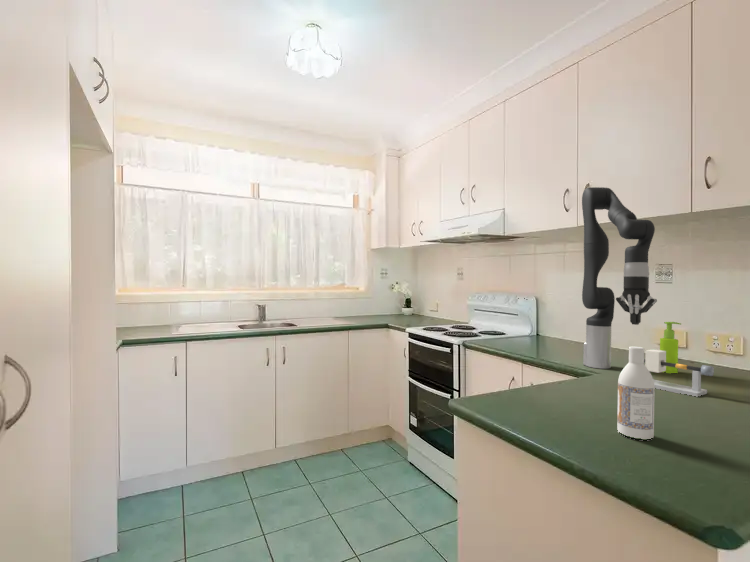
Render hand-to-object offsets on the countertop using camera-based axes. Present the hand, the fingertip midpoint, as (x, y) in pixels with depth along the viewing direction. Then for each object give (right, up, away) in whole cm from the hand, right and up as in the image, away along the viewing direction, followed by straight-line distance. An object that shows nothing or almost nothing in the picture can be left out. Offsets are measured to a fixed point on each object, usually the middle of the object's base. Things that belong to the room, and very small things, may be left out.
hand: (635, 324), depth 142 cm
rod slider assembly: (+6, -20, -9) cm, 23 cm away
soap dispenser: (+25, -21, +17) cm, 37 cm away
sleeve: (+3, -15, -5) cm, 17 cm away
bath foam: (-34, -20, -51) cm, 65 cm away
